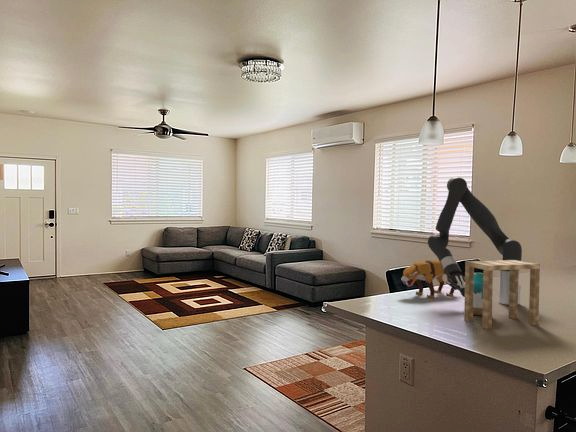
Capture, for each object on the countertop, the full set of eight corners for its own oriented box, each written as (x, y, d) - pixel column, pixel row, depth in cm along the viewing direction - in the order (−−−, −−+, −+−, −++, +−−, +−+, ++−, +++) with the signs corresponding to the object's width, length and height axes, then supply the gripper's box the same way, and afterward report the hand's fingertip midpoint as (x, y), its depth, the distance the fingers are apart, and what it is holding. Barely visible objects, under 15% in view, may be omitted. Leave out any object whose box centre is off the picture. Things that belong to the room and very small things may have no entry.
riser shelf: (513, 316, 198) (514, 259, 197) (538, 325, 184) (539, 264, 184) (464, 320, 191) (465, 261, 190) (486, 329, 178) (487, 265, 177)
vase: (493, 318, 195) (494, 275, 194) (468, 316, 197) (469, 274, 197) (487, 312, 205) (488, 272, 205) (464, 311, 207) (464, 271, 207)
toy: (395, 295, 243) (395, 259, 242) (450, 291, 258) (450, 257, 258) (409, 300, 231) (409, 262, 231) (466, 295, 247) (466, 259, 246)
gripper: (442, 263, 217) (457, 292, 205) (465, 262, 220) (481, 291, 209) (436, 272, 222) (450, 301, 211) (458, 271, 226) (473, 299, 214)
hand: (465, 296), depth 210 cm, fingers closed
